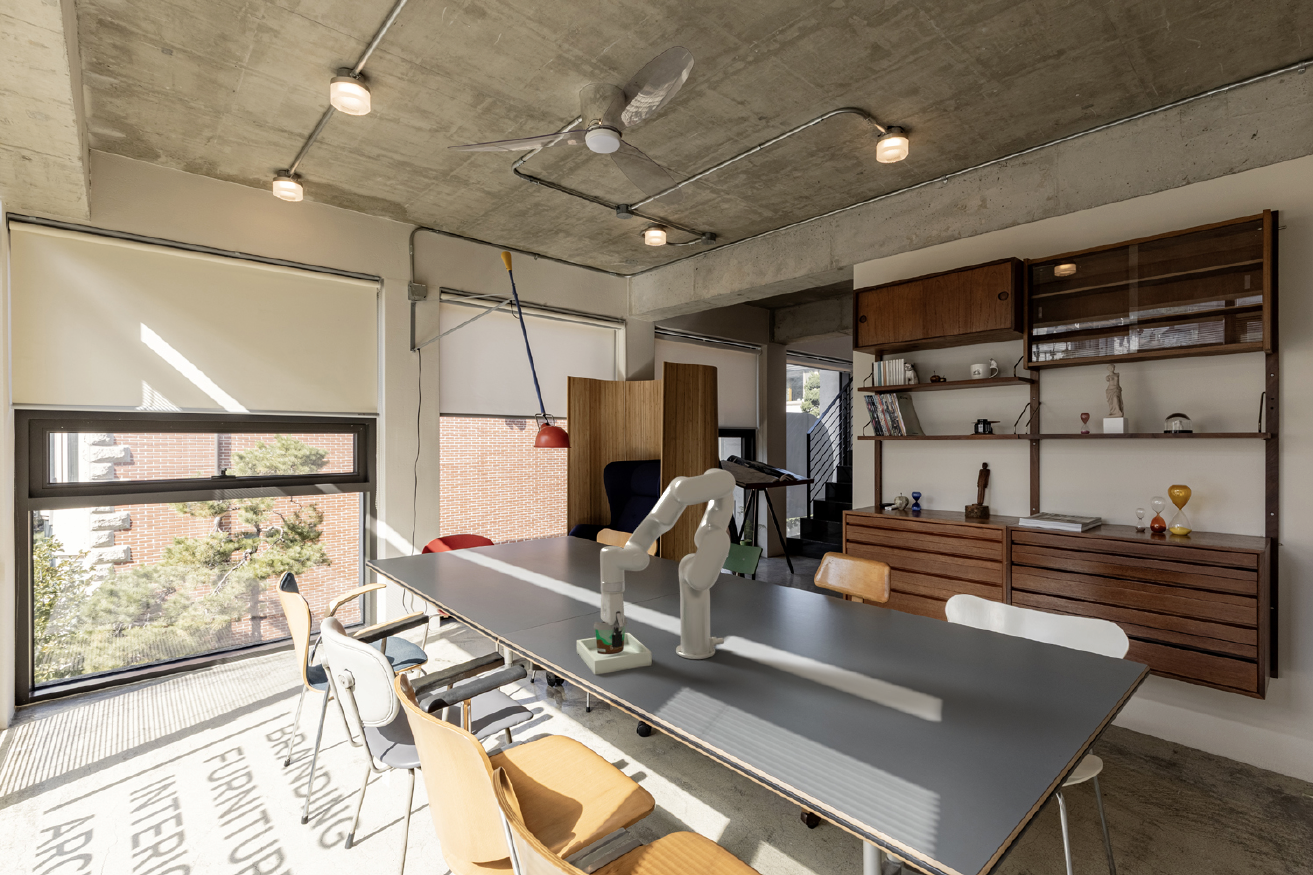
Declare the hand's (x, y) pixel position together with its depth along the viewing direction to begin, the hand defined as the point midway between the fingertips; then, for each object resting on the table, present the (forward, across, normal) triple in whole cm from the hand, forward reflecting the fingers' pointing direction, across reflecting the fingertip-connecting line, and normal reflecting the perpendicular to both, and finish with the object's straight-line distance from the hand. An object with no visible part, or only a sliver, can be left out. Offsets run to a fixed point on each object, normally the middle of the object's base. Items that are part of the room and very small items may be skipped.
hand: (613, 642), depth 190 cm
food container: (+3, +1, 0) cm, 3 cm away
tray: (+5, 0, 0) cm, 5 cm away
